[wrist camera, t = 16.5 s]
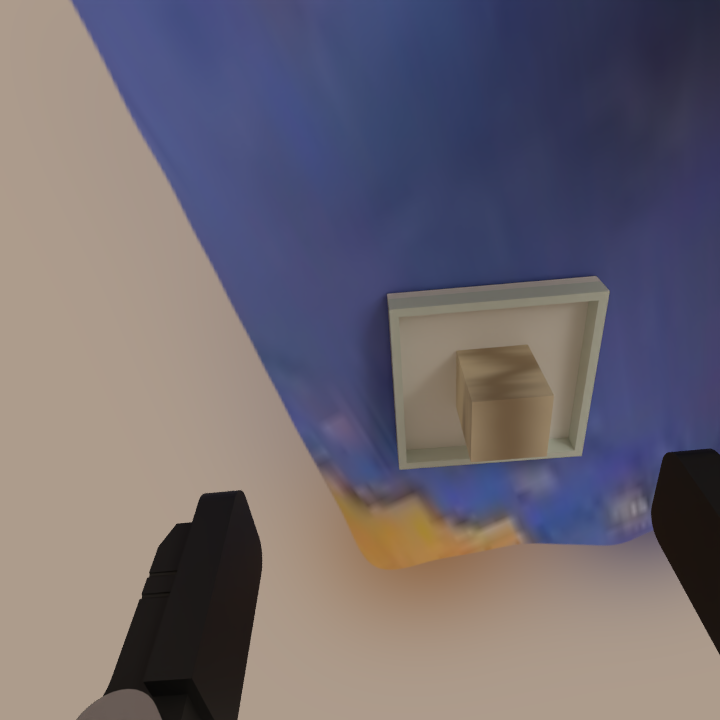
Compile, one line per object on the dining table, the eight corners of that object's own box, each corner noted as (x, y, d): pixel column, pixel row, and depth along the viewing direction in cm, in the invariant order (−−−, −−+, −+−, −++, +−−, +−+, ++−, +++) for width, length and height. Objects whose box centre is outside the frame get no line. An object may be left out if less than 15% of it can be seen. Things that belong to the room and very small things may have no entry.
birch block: (527, 344, 40) (553, 395, 35) (523, 401, 42) (546, 456, 37) (456, 350, 40) (472, 402, 35) (456, 407, 43) (470, 462, 37)
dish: (596, 275, 38) (609, 291, 36) (571, 436, 45) (581, 455, 43) (386, 293, 38) (389, 309, 36) (397, 449, 46) (399, 469, 44)
